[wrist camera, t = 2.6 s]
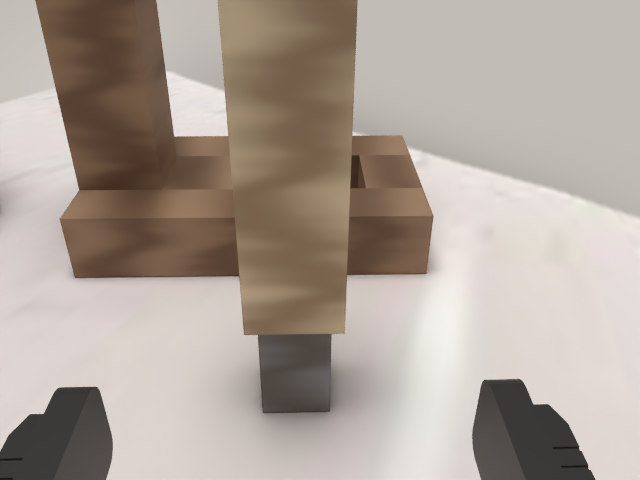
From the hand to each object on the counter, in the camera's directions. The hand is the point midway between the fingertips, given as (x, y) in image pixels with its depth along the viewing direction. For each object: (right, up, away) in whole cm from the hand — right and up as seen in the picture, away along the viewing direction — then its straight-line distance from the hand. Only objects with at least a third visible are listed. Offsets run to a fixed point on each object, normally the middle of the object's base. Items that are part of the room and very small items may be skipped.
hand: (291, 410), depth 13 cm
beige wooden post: (-1, -3, +15) cm, 16 cm away
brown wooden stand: (-4, +5, +28) cm, 29 cm away
